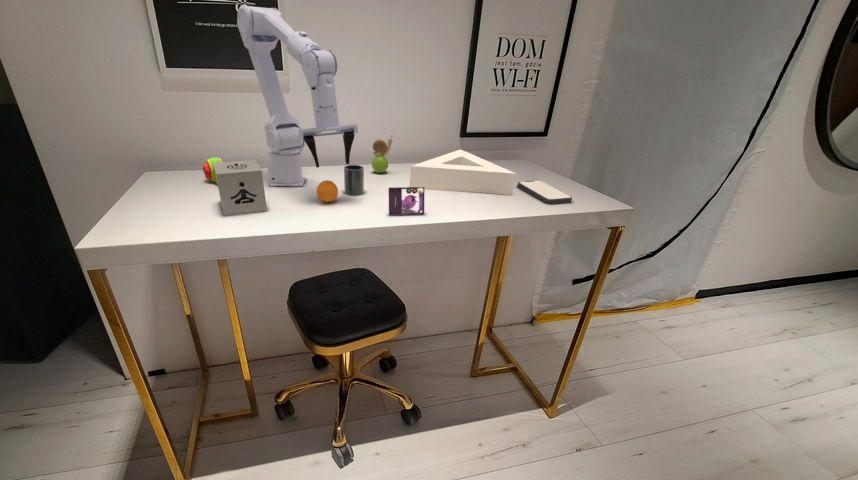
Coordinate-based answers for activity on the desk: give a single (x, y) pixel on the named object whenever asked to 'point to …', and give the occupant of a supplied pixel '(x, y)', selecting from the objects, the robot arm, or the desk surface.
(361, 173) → the cup
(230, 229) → the desk surface
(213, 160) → the red green curved piece
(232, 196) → the icon cube
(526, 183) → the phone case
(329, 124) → the robot arm
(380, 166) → the snail figurine
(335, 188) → the ball
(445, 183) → the triangle block
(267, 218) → the desk surface
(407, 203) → the purple product box
